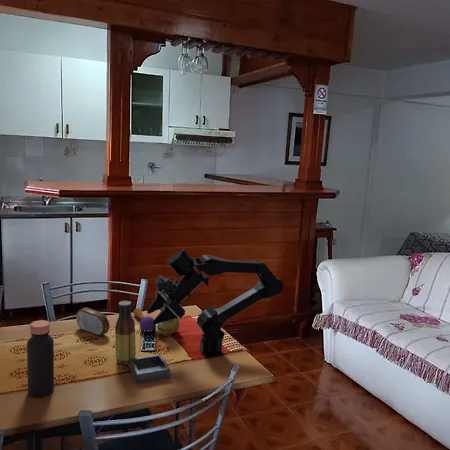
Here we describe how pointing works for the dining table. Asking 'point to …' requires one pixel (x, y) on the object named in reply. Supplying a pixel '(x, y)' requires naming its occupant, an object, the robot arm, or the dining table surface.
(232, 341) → the dining table surface
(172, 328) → the decorative figurine
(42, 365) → the dark grey water bottle
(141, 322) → the kendama
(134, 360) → the grey square tray
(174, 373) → the dining table surface
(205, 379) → the dining table surface
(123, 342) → the sauce bottle
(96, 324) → the wooden speaker
